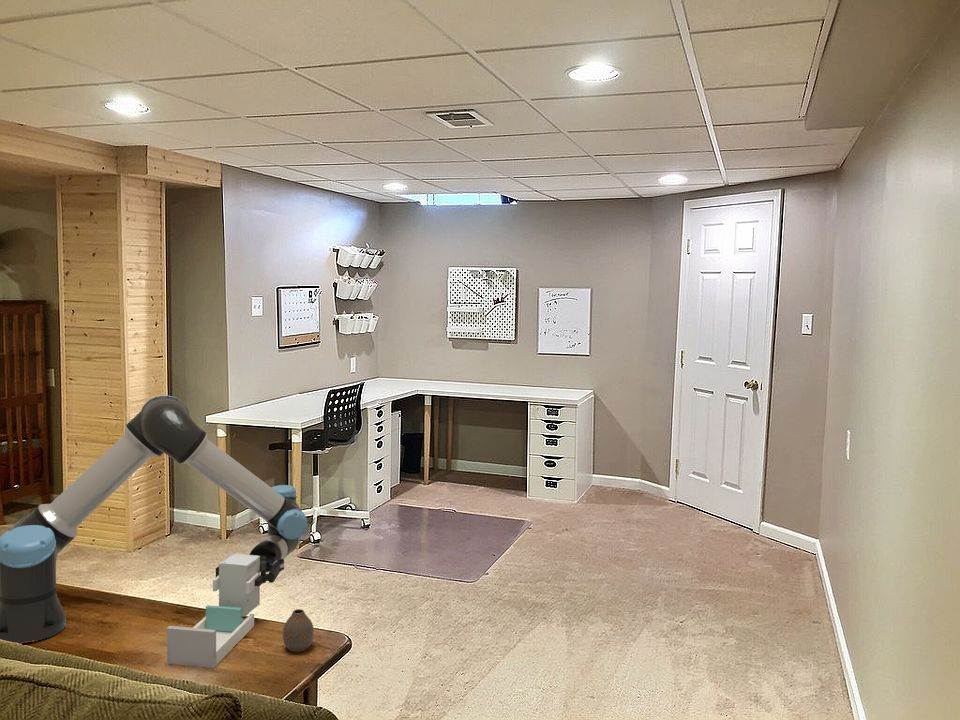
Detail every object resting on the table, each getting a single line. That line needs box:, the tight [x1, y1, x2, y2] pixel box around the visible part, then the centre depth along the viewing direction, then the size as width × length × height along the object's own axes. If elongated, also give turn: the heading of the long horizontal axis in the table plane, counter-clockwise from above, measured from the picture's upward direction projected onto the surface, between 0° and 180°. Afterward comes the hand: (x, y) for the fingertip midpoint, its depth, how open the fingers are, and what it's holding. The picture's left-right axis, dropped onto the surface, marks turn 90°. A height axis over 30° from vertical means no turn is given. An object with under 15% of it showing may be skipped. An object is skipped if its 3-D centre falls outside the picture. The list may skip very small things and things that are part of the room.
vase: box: [282, 608, 315, 653], centre depth 179 cm, size 7×7×9 cm
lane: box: [166, 613, 255, 669], centre depth 180 cm, size 21×11×8 cm, turn 173°
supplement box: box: [218, 553, 261, 617], centre depth 192 cm, size 7×7×13 cm
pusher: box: [205, 604, 243, 632], centre depth 185 cm, size 1×8×6 cm, turn 83°
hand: (230, 587), depth 187 cm, fingers closed on supplement box, 7 cm apart
